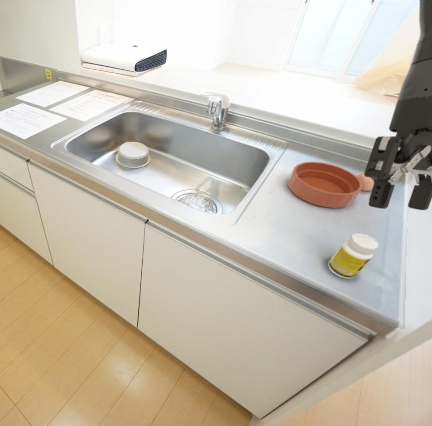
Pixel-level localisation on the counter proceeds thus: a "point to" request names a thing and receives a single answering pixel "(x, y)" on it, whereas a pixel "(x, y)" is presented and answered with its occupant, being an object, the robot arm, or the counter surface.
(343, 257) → the supplement bottle
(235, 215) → the counter surface
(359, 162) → the counter surface
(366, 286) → the counter surface
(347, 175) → the bowl
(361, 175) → the egg
